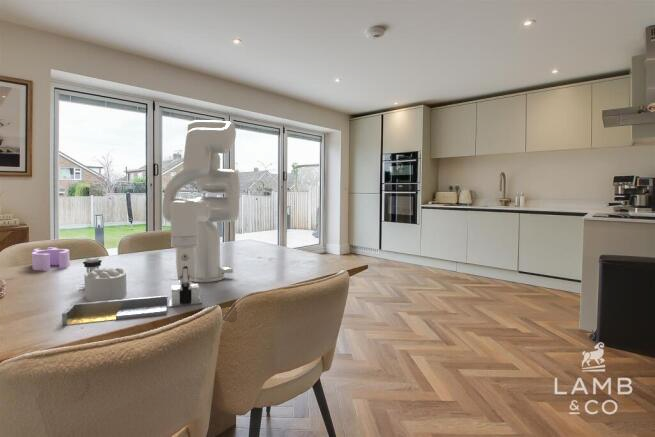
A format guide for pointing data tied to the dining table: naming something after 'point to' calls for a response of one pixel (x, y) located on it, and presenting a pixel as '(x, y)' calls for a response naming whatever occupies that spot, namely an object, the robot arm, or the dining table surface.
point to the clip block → (176, 289)
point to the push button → (91, 265)
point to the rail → (114, 310)
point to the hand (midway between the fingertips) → (185, 299)
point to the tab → (185, 303)
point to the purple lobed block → (50, 258)
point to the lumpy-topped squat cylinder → (105, 284)
